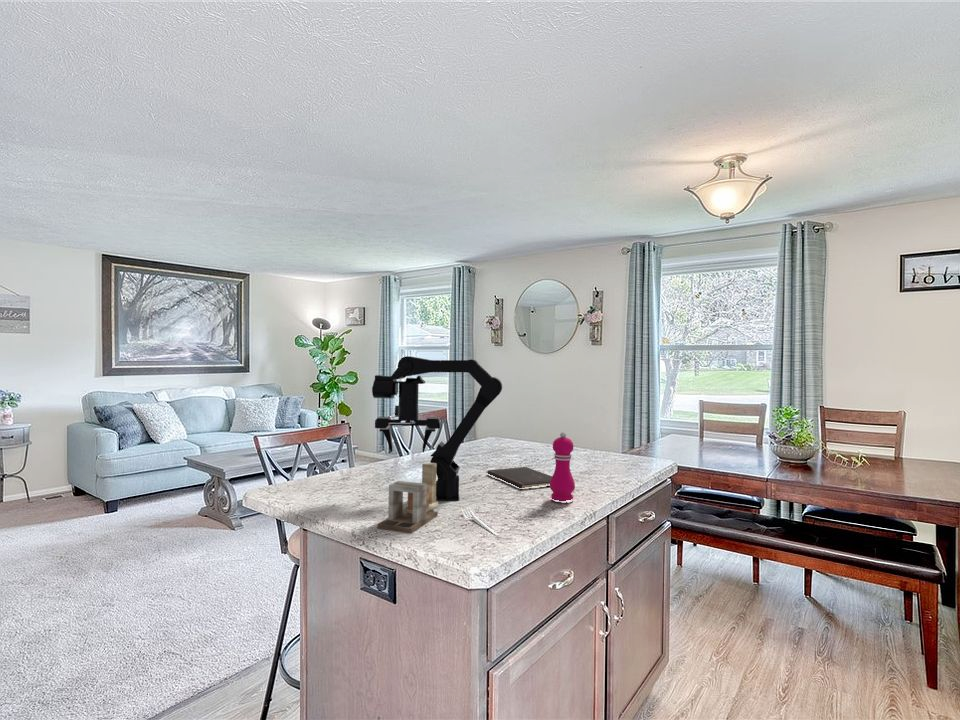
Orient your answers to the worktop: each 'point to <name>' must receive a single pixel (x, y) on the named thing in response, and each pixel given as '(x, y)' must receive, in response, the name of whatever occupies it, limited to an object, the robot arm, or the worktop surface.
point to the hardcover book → (521, 476)
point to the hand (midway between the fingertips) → (407, 452)
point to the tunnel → (398, 516)
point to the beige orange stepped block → (430, 480)
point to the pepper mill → (562, 469)
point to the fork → (476, 519)
